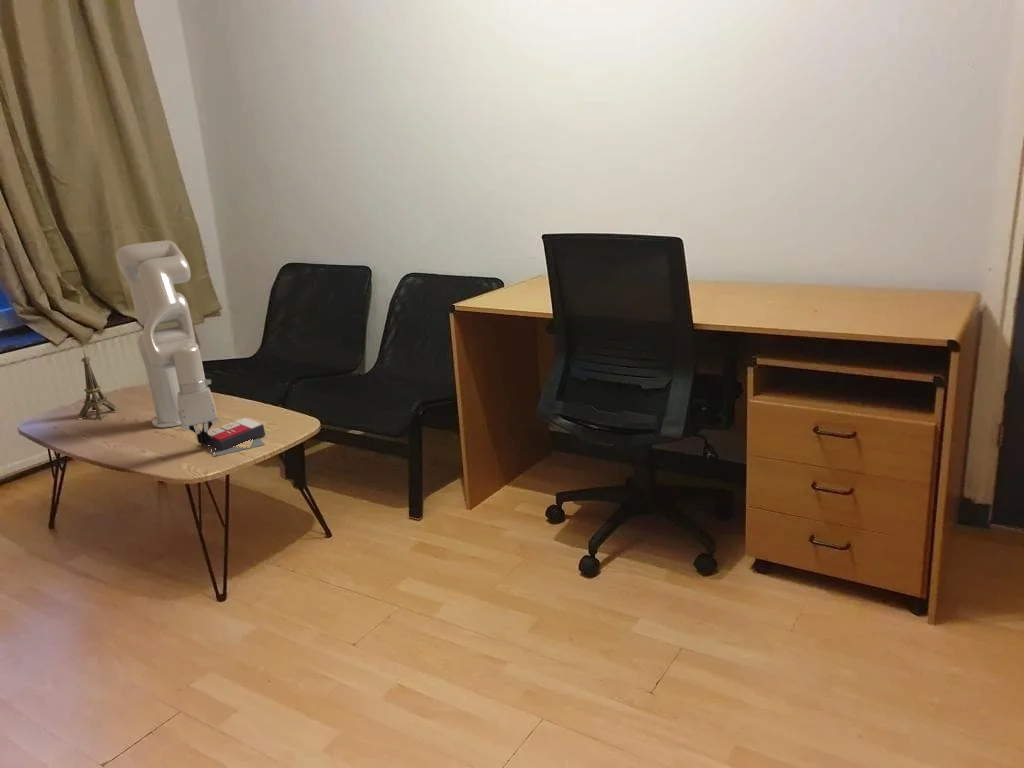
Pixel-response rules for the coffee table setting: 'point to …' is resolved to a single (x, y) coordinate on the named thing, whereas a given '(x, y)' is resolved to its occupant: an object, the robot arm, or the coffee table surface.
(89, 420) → the coffee table surface
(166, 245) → the robot arm
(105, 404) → the eiffel tower
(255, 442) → the desk mat
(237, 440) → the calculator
